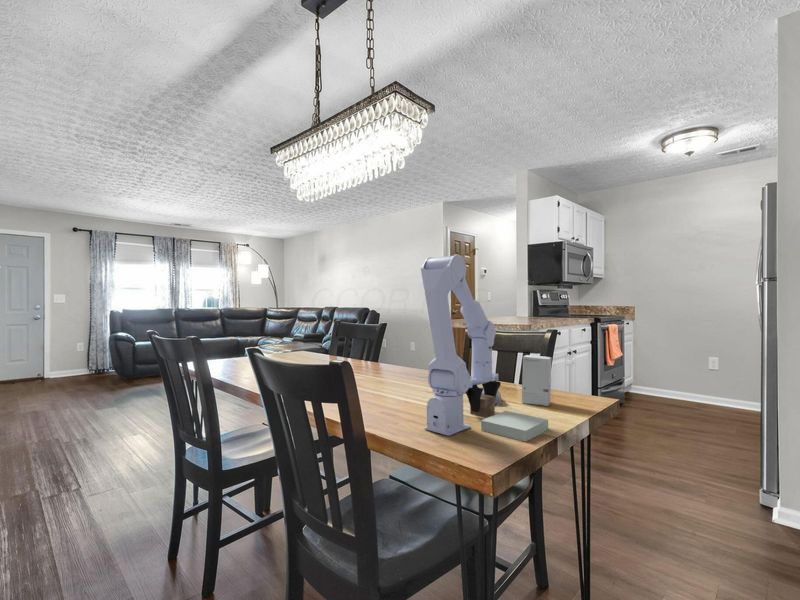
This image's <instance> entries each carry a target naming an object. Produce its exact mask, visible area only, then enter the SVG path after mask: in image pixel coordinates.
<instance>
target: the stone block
mask: <svg viewBox="0 0 800 600" xmlns="http://www.w3.org/2000/svg"><path fill="white" fill-rule="evenodd" d="M477 387H478V388H483V386H477ZM482 394H483V395H485V393H484V389H483V391H482ZM495 404H500V405H501V404H502V393H501V392H500V391H499V390H498V391H497V394H496V397H495Z"/></svg>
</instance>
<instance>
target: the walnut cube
mask: <svg viewBox="0 0 800 600" xmlns="http://www.w3.org/2000/svg"><path fill="white" fill-rule="evenodd" d="M495 407H496V405H495V397H494V396H489V395H483V394H481V398H480V408H479V412H474V411H471V407H469V408H470V410H469V411H470V413H469V414H470V415H473V414H475V415H474V416H478V415H479V416H478V417H482V416H483V418H488V417H491V416H493V415H495V414H494V413H495V412H496V410H495V409H496V408H495Z"/></svg>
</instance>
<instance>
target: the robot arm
mask: <svg viewBox="0 0 800 600" xmlns="http://www.w3.org/2000/svg"><path fill="white" fill-rule="evenodd" d="M466 265H467V264H466V262H465V260H464V258H463V257H462V255H460V254H454V255H446V256H439V257H427V258H426V259H425V260H424V262H423V263H422V266H421V267H420V273H421V279H422V284H423V289H424V296H425V301H426V308H427V314H428V320H429V326H430V327H429V328H430V331H431V338H432V344H433V345H432V346H433V350H434V356H435V357H434V358H433V359H432V360H431V361H430V362H429V363H428V365H427V369H428V375H427V382H428V386H429V388H430V389H432V393H434V394H433V397H431V398H430V399H428V401H427V403H426V426H424V428H423V429H424V430H426V431H430V432H433V433H437V434H441V435H443V436H452V435H454V434H457V433H460V432H462V431H465V430H466V429H469V428H472V427H471V425H470V424H467V423H465V422H464V395H466V396H467V400H468V402H469V406H470V407H471V411H474V412H479V408H480V398H481V394H482V391H483V389H484V393H485V395H489V396H494V397H496V394H497V391H499V389H500V387H501V385H502V382H500V381H499V373H495V372H493V346H494V344H495V338H496V333H497V329H496V325H495V324H494V323H493V322H492V321H490V320H488V318H487V315H486V313H485V311H484V309H483V307H482V305H481V304H480V302H479V301H478V300H476V299H474V297H473V295H472V292H471V289H470V287H469V285H468V282H467V279H466V275H467V266H466ZM451 291H452V292H453V294H454V295H455V296H456V299H457V300H458V302H459V303H460V304H461V306H460V313H461V315H462V317H463V319H464V321H465V323H466V324H465V325H466V330H467V336H468V337H469V339H471V376H470V372H469V370H468V368H467V363H466V362H465V361H464V360H463V359H462V358H461V357H460V356H459V355H457V350H456V343H455V337H454V331H453V324H452V317H451V311H450V304H449V298H448V296H449V295H448V294H450V292H451ZM479 385H482V386H481V387H483V388H478V387H479ZM470 407H469V408H470Z"/></svg>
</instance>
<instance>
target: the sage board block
mask: <svg viewBox="0 0 800 600" xmlns="http://www.w3.org/2000/svg"><path fill="white" fill-rule="evenodd" d="M480 421H481V422H480V423H481V424H480V426H481V427H480V428H481V429H480V431H481V432H487V433H490V434H493V435H494V434H495V435H499V436H502V437H506V438H510V439H512V440H513V439H514V440H517V441H522V442H528V441H529V440H530V441H531V440H532V439H533V438H535V437H538V436H539V435H541V434H543V433H545V432H546V430H547V431H549V419H548V418H543V417H538V416H534V415H528V414H524V413H518V412H513V411H509V410H504V411H501V412H499V413H497V414H493V415H490V416H488V417H485V418H483V419H481V420H480ZM544 431H545V432H544Z"/></svg>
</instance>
